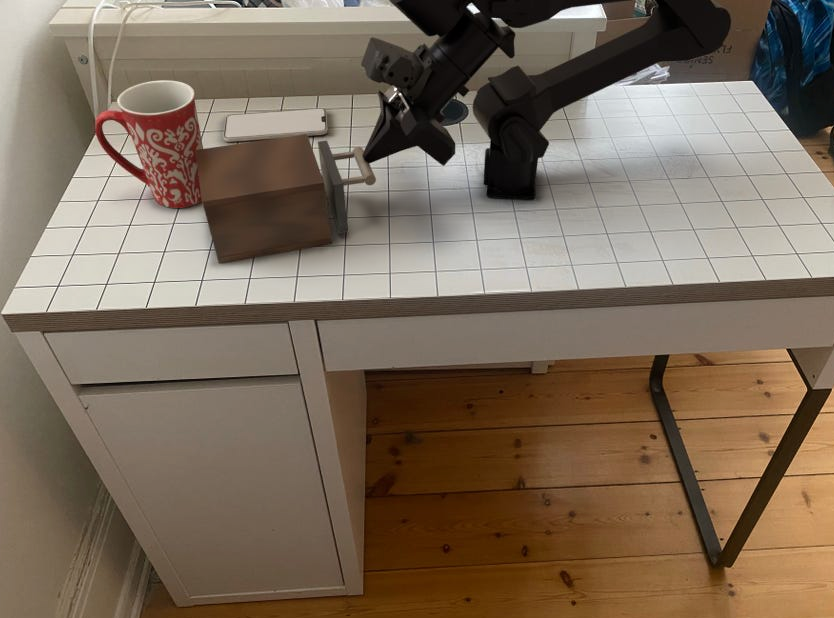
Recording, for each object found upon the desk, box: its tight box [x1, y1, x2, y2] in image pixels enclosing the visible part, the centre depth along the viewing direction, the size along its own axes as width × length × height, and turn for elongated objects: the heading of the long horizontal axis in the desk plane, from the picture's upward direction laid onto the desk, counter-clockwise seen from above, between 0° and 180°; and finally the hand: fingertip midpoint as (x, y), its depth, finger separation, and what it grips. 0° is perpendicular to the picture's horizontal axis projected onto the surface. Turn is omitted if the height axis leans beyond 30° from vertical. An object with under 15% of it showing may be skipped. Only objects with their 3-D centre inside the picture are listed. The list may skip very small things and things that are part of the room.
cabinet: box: [195, 134, 333, 264], centre depth 91 cm, size 14×12×9 cm
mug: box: [94, 79, 204, 209], centre depth 94 cm, size 13×9×14 cm
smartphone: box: [222, 107, 329, 143], centre depth 112 cm, size 7×1×15 cm
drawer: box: [317, 140, 377, 234], centre depth 92 cm, size 17×10×7 cm, turn 107°
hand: (365, 160), depth 92 cm, fingers closed, pressing on drawer
